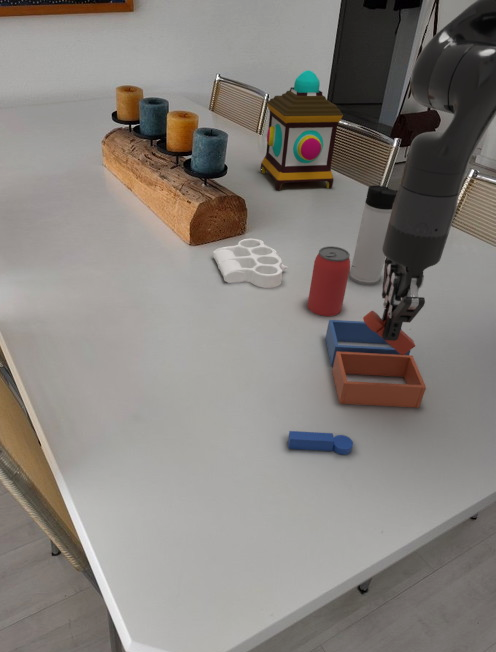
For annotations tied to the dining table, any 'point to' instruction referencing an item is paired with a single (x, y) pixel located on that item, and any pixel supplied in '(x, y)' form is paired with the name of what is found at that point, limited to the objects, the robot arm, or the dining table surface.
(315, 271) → the beer can
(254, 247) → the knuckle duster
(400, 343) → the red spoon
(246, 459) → the dining table surface
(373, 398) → the terracotta bin
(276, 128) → the decorative lantern
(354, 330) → the blue bin
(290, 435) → the blue spoon
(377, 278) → the travel mug
